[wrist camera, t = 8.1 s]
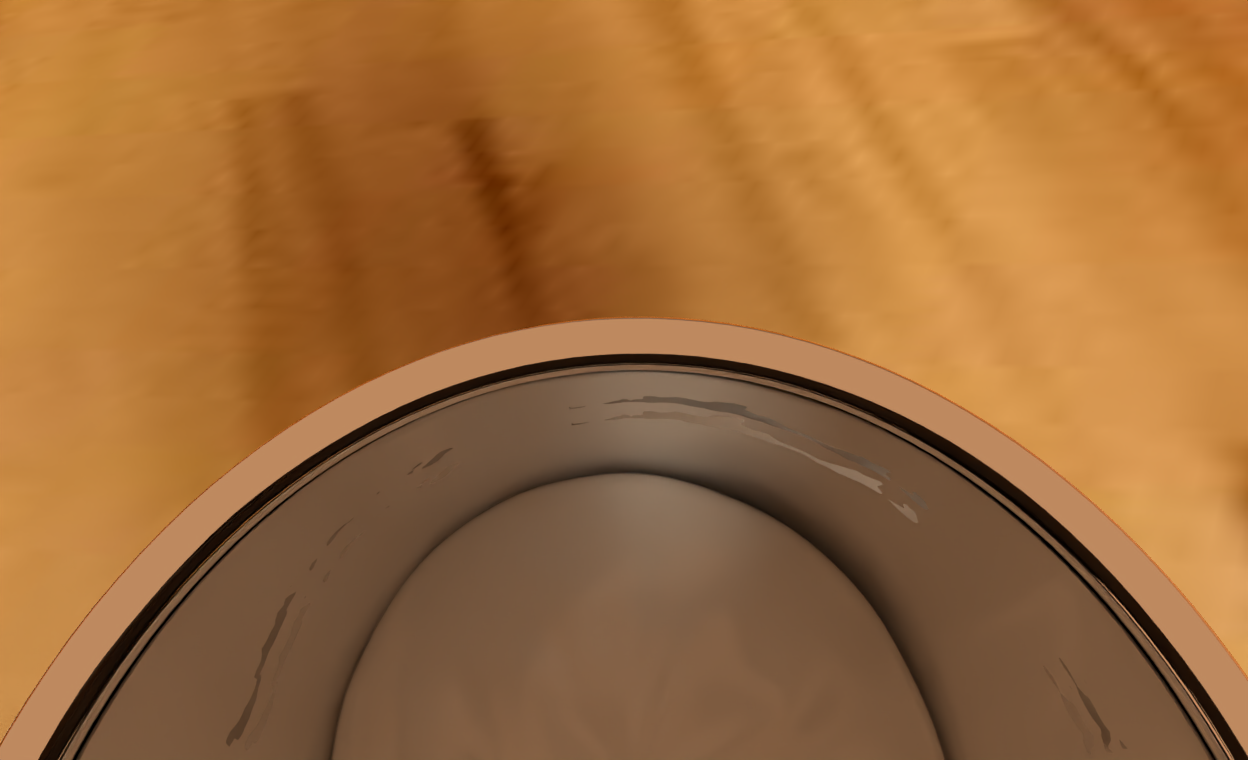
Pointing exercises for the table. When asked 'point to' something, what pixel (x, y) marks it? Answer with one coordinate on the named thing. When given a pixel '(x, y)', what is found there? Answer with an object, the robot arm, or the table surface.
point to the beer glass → (640, 578)
